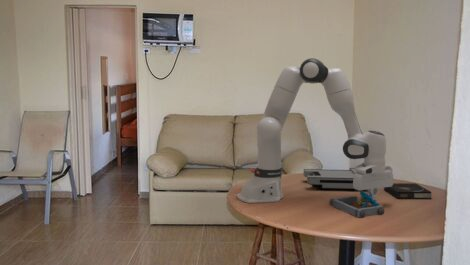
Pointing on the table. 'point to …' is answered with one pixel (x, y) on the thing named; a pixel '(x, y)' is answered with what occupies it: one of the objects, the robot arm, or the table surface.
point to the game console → (331, 179)
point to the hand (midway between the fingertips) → (372, 197)
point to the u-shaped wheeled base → (362, 212)
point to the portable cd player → (408, 191)
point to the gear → (367, 200)
